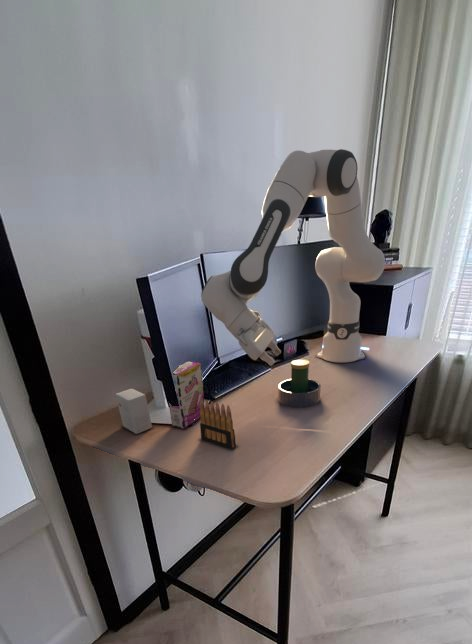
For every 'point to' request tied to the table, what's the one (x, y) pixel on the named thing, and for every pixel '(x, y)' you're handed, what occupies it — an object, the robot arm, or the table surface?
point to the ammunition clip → (217, 425)
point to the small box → (134, 410)
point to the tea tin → (299, 376)
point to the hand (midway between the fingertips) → (276, 358)
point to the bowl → (299, 394)
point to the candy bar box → (187, 394)
